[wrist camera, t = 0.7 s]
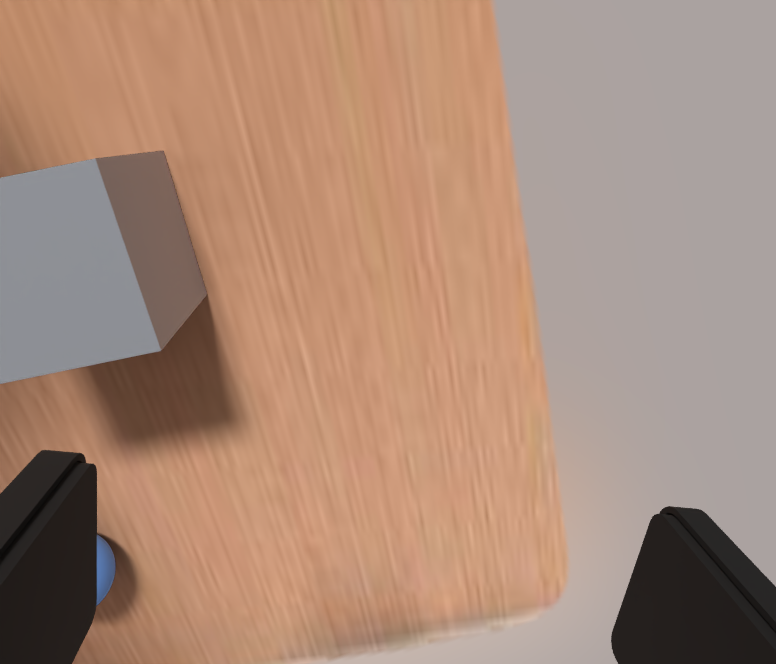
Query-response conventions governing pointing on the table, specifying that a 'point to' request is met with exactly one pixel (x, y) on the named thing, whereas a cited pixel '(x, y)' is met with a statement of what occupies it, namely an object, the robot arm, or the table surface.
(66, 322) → the gray foam cube
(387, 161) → the table surface
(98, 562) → the ball
